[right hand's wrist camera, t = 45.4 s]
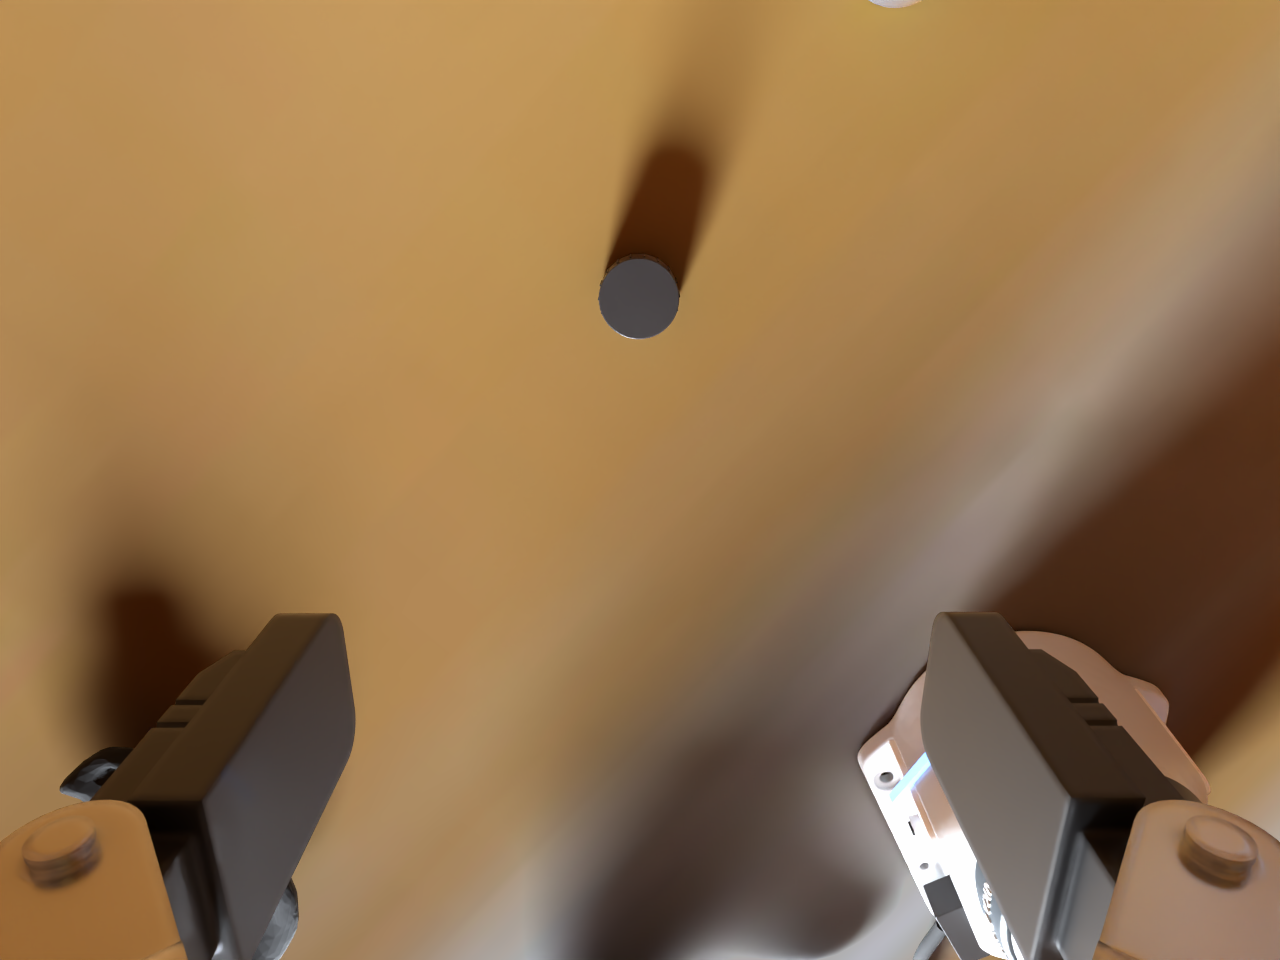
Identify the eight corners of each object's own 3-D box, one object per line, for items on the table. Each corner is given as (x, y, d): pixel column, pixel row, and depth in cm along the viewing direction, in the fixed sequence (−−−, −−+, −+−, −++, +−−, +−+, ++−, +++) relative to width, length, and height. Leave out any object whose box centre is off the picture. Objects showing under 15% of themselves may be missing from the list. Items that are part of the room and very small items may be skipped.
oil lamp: (266, 698, 52) (230, 752, 47) (340, 932, 59) (315, 999, 54) (33, 720, 53) (-26, 774, 48) (134, 948, 59) (91, 1016, 55)
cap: (595, 326, 44) (593, 334, 42) (605, 247, 42) (603, 251, 41) (671, 337, 44) (672, 345, 42) (683, 258, 43) (685, 263, 41)
